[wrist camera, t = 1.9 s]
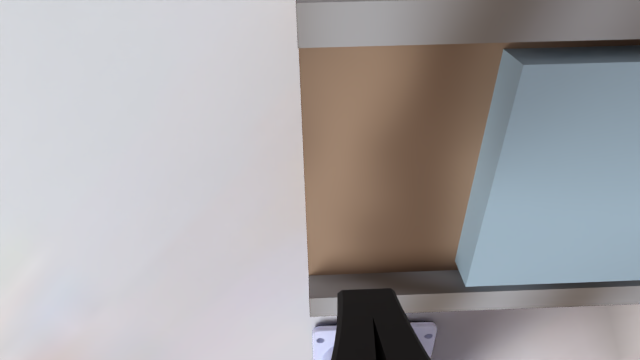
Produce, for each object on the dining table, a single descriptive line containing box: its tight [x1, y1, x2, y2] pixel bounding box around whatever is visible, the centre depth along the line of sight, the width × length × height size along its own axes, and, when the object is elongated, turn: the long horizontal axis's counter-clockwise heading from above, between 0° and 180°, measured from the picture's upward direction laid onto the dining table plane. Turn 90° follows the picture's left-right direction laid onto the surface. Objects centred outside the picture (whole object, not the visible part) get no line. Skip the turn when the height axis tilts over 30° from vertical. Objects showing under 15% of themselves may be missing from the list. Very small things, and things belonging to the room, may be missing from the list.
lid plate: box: [455, 45, 640, 287], centre depth 16 cm, size 10×9×2 cm
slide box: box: [296, 0, 640, 317], centre depth 17 cm, size 22×13×5 cm, turn 91°
